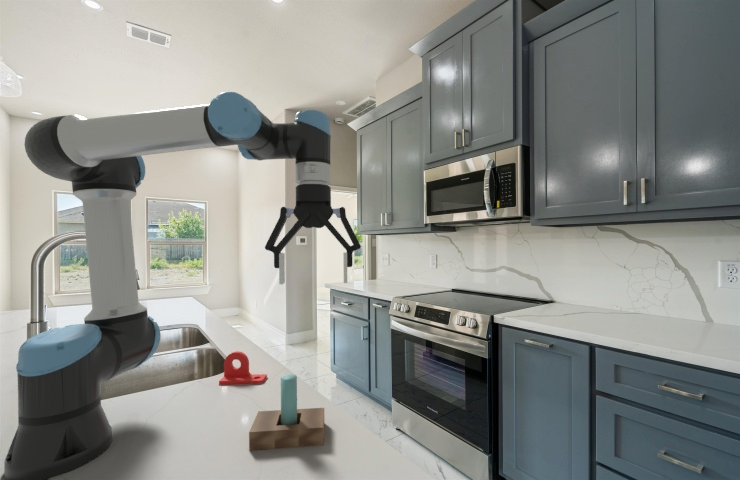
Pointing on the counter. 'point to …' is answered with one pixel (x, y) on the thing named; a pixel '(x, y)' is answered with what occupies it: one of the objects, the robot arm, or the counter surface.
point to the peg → (289, 400)
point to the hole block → (287, 430)
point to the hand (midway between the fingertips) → (314, 283)
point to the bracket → (239, 371)
